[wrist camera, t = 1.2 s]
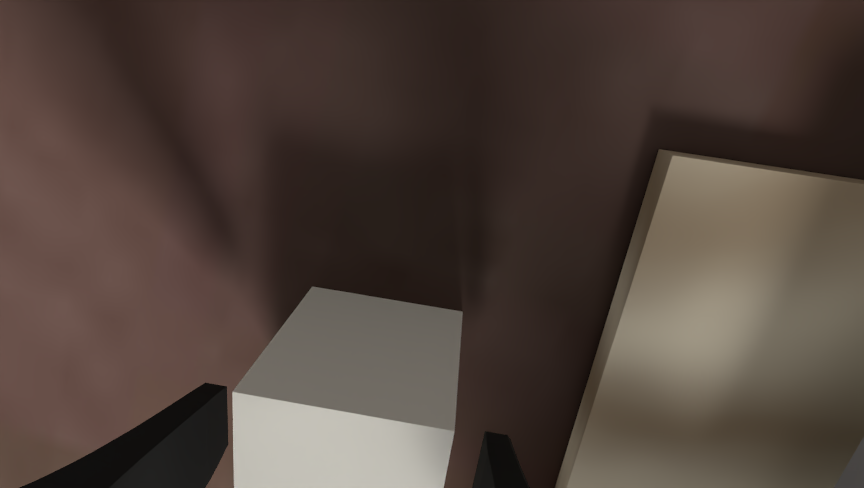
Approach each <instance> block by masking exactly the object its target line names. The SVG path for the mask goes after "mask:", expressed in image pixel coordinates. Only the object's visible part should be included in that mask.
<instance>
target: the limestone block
mask: <svg viewBox="0 0 864 488" xmlns="http://www.w3.org/2000/svg"><path fill="white" fill-rule="evenodd" d="M462 315H463V312H462V311H456V310H450V309H444V308H438V307H432V306H426V305H420V304H414V303H408V302H402V301H396V300H390V299H384V298H378V297H372V296H366V295H360V294H355V293H349V292H343V291H337V290H331V289H325V288H319V287H313V286H312V287H311V289H310V290H309V291H308V293H307V294H306V295H305V297H304V298H303V299H302V301H301V302H300V303H299V305H298V306H297V307H296V309H295V310H294V311H293V313H292V314H291V315H290V317H289V318H288V319H287V320H286V322H285V323H284V324H283V326H282V327H281V328H280V330H279V331H278V332H277V334H276V335H275V336H274V338H273V339H272V340H271V342H270V343H269V344H268V346H267V347H266V348H265V350H264V351H263V352H262V354H261V355H260V356H259V358H258V359H257V360H256V361H255V363H254V364H253V365H252V367H251V368H250V369H249V371H248V372H247V373H246V375H245V376H244V377H243V379H242V380H241V381H240V383H239V384H238V385H237V387H236V388H235V389H234V391H233V392H232V393H233V454H234V488H444V483H445V478H446V473H447V467H448V462H449V457H450V452H451V447H452V442H453V437H454V432H455V418H456V403H457V388H458V374H459V359H460V344H461V330H462Z"/></svg>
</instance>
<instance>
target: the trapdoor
mask: <svg viewBox="0 0 864 488" xmlns="http://www.w3.org/2000/svg"><path fill="white" fill-rule="evenodd" d="M834 488H864V437H863V439H862V441H861V442H860V444H859V446H858V447H857V449H856V451H855V453H854V454H853V456H852V458H851V459H850V461H849V463H848V464H847V466H846V468H845V469H844V471H843V473H842V475H841V476H840V478H839V480H838V481H837V483H836V485H835V486H834Z"/></svg>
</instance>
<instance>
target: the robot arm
mask: <svg viewBox="0 0 864 488" xmlns="http://www.w3.org/2000/svg"><path fill="white" fill-rule="evenodd" d="M227 445H228V416H227V387H226V386H221V385H215V384H209V383H204V384H203V385H201V386H200V387H198V388H196V389H195V390H193V391H192V392H190V393H189V394H187V395H185V396H184V397H182V398H181V399H179V400H178V401H176V402H175V403H173V404H172V405H170V406H169V407H167V408H165V409H164V410H162V411H161V412H159V413H158V414H156V415H154V416H153V417H151V418H150V419H148V420H146V421H145V422H143V423H142V424H140V425H138V426H137V427H135V428H134V429H132V430H130V431H129V432H127V433H125V434H123V435H122V436H120V437H118V438H116V439H115V440H113V441H111V442H109V443H108V444H106V445H104V446H102V447H101V448H99V449H97V450H96V451H94V452H92V453H90V454H88V455H86V456H85V457H83V458H81V459H79V460H77V461H75V462H73V463H71V464H69V465H67V466H65V467H63V468H61V469H59V470H57V471H55V472H53V473H51V474H49V475H47V476H45V477H43V478H40V479H38V480H36V481H34V482H32V483H29V484H27V485H25V486H22V487H20V488H205V487H206V485H207V484H208V482H209V481H210V479H211V477H212V475H213V473H214V471H215V469H216V468H217V466H218V464H219V462H220V460H221V458H222V456H223V454H224V451H225V449H226V447H227ZM472 488H530V487H529V485H528V483H527V481H526V478H525V476H524V473H523V471H522V469H521V466H520V464H519V461H518V459H517V456H516V454H515V451H514V448H513V445H512V442H511V439H510V438H509V437H508V435H503V434H497V433H492V432H486V431H485V434H484V438H483V443H482V447H481V452H480V456H479V461H478V465H477V469H476V474H475V478H474V483H473V487H472Z"/></svg>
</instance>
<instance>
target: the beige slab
mask: <svg viewBox="0 0 864 488" xmlns="http://www.w3.org/2000/svg"><path fill="white" fill-rule="evenodd" d="M863 437H864V180H860V179H853V178H847V177H840V176H833V175H827V174H820V173H814V172H807V171H801V170H794V169H787V168H781V167H774V166H768V165H761V164H754V163H748V162H741V161H735V160H728V159H721V158H715V157H708V156H702V155H695V154H688V153H682V152H675V151H669V150H662V149H659V151H658V154H657V157H656V160H655V164H654V167H653V170H652V173H651V177H650V180H649V183H648V186H647V190H646V193H645V196H644V199H643V203H642V206H641V209H640V212H639V216H638V219H637V222H636V225H635V229H634V232H633V235H632V238H631V242H630V245H629V248H628V251H627V255H626V258H625V261H624V264H623V268H622V271H621V274H620V277H619V281H618V284H617V287H616V291H615V294H614V297H613V300H612V304H611V307H610V310H609V313H608V317H607V320H606V323H605V326H604V330H603V333H602V336H601V339H600V343H599V346H598V349H597V352H596V356H595V359H594V362H593V365H592V369H591V372H590V375H589V378H588V382H587V385H586V388H585V391H584V395H583V398H582V401H581V404H580V408H579V411H578V414H577V417H576V421H575V424H574V427H573V430H572V434H571V437H570V440H569V443H568V447H567V450H566V453H565V456H564V460H563V463H562V466H561V470H560V473H559V476H558V479H557V483H556V486H555V488H834V486H835V485H836V483H837V481H838V480H839V478H840V476H841V475H842V473H843V471H844V469H845V468H846V466H847V464H848V463H849V461H850V459H851V458H852V456H853V454H854V453H855V451H856V449H857V447H858V446H859V444H860V442H861V441H862V439H863Z"/></svg>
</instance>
